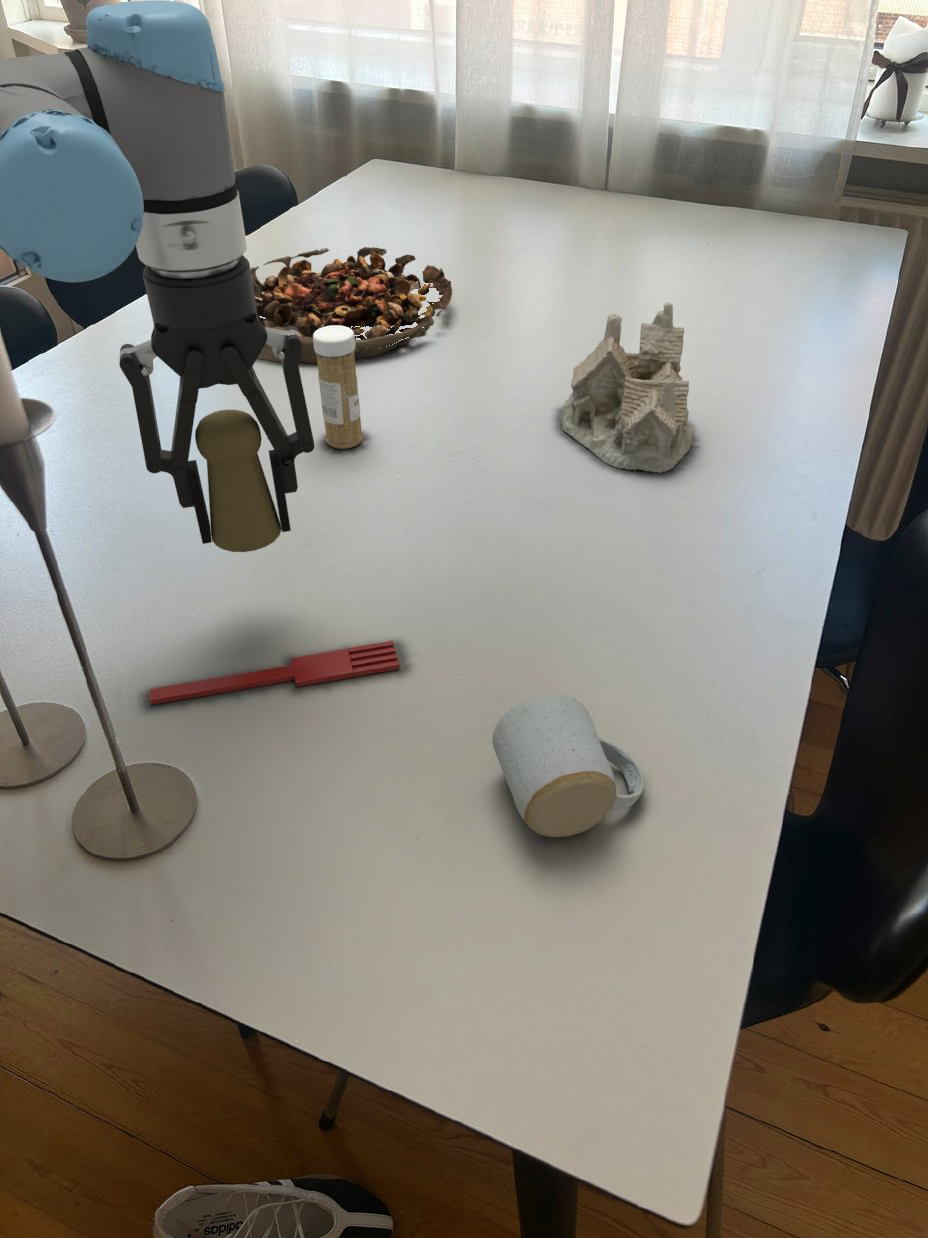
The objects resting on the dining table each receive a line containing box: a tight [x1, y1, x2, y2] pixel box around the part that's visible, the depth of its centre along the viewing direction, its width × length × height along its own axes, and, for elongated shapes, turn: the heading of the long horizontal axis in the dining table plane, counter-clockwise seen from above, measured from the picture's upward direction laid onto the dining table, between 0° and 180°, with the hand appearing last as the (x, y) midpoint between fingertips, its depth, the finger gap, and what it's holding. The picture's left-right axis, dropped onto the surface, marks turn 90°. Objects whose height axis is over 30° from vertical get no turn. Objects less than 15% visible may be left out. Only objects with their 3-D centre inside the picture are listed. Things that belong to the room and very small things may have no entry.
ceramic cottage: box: [559, 301, 694, 474], centre depth 110 cm, size 16×16×15 cm
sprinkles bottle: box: [313, 325, 364, 450], centre depth 110 cm, size 5×5×14 cm
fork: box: [149, 640, 401, 705], centre depth 83 cm, size 21×3×1 cm, turn 104°
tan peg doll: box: [194, 409, 282, 553], centre depth 80 cm, size 6×6×11 cm
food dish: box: [250, 246, 453, 364], centre depth 140 cm, size 35×33×8 cm
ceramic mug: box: [492, 693, 645, 838], centre depth 70 cm, size 11×8×8 cm
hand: (245, 528), depth 83 cm, fingers closed on tan peg doll, 6 cm apart
